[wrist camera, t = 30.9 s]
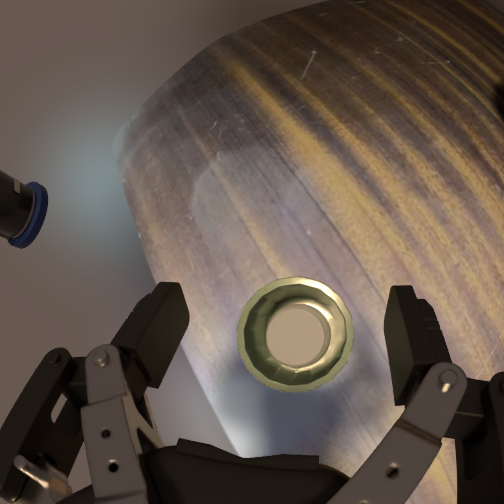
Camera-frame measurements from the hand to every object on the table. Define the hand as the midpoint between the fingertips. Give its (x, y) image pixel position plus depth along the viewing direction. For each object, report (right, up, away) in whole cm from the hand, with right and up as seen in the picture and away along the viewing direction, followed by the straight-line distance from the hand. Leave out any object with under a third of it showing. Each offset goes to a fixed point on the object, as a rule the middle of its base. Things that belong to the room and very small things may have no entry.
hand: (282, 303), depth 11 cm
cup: (+3, -5, +13) cm, 15 cm away
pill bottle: (+3, -5, +13) cm, 14 cm away
